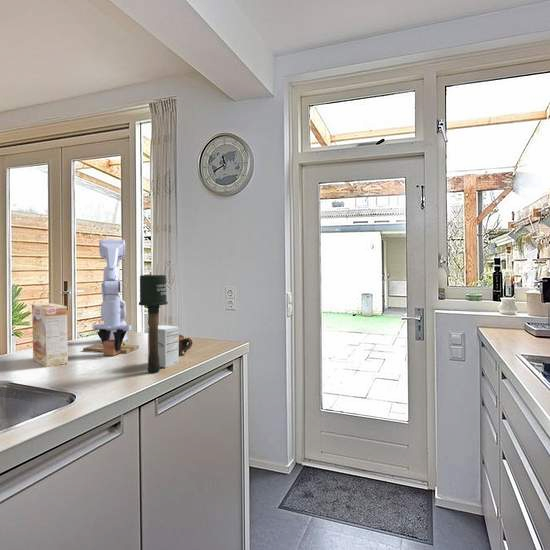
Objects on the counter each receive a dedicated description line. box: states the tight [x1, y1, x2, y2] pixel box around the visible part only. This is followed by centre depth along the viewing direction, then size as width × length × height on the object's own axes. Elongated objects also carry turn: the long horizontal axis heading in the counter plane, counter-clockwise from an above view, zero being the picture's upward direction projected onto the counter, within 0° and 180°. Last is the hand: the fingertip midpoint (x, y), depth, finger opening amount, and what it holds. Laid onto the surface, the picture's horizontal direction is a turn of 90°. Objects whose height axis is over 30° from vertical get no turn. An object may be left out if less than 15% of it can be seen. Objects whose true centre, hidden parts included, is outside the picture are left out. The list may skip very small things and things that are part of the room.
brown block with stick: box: [102, 339, 127, 357], centre depth 155 cm, size 11×4×5 cm, turn 170°
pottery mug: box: [179, 334, 194, 357], centre depth 154 cm, size 12×10×8 cm
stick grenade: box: [138, 274, 168, 374], centre depth 128 cm, size 8×9×30 cm
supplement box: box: [147, 324, 180, 369], centre depth 137 cm, size 7×7×13 cm
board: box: [82, 343, 140, 354], centre depth 160 cm, size 9×18×1 cm, turn 80°
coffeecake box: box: [31, 302, 69, 368], centre depth 141 cm, size 15×7×20 cm, turn 45°
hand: (112, 350), depth 152 cm, fingers closed on brown block with stick, 4 cm apart
